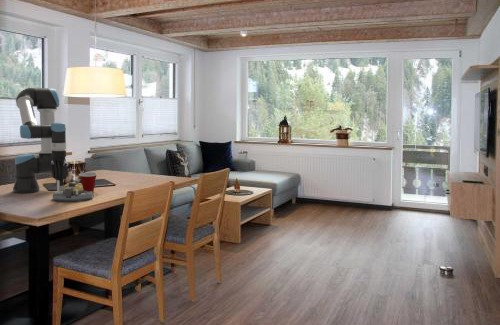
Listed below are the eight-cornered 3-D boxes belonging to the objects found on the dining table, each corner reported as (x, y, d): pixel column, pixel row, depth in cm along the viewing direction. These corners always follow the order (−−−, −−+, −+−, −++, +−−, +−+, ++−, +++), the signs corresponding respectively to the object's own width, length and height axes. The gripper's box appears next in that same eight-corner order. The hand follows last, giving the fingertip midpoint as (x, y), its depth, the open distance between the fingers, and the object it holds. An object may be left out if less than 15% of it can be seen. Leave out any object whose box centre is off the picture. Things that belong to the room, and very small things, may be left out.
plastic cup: (77, 194, 288) (77, 174, 286) (81, 190, 298) (80, 172, 297) (96, 193, 289) (95, 174, 288) (98, 190, 300) (98, 172, 299)
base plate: (56, 195, 282) (55, 184, 281) (94, 194, 288) (94, 183, 287) (49, 202, 261) (49, 191, 260) (91, 201, 266) (91, 190, 266)
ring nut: (65, 191, 279) (65, 181, 278) (84, 191, 280) (84, 181, 279) (57, 196, 261) (57, 186, 261) (77, 196, 263) (77, 186, 262)
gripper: (44, 149, 262) (46, 191, 265) (62, 151, 257) (63, 193, 260) (55, 148, 269) (56, 189, 272) (72, 150, 264) (73, 191, 267)
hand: (59, 191), depth 266 cm, fingers closed
